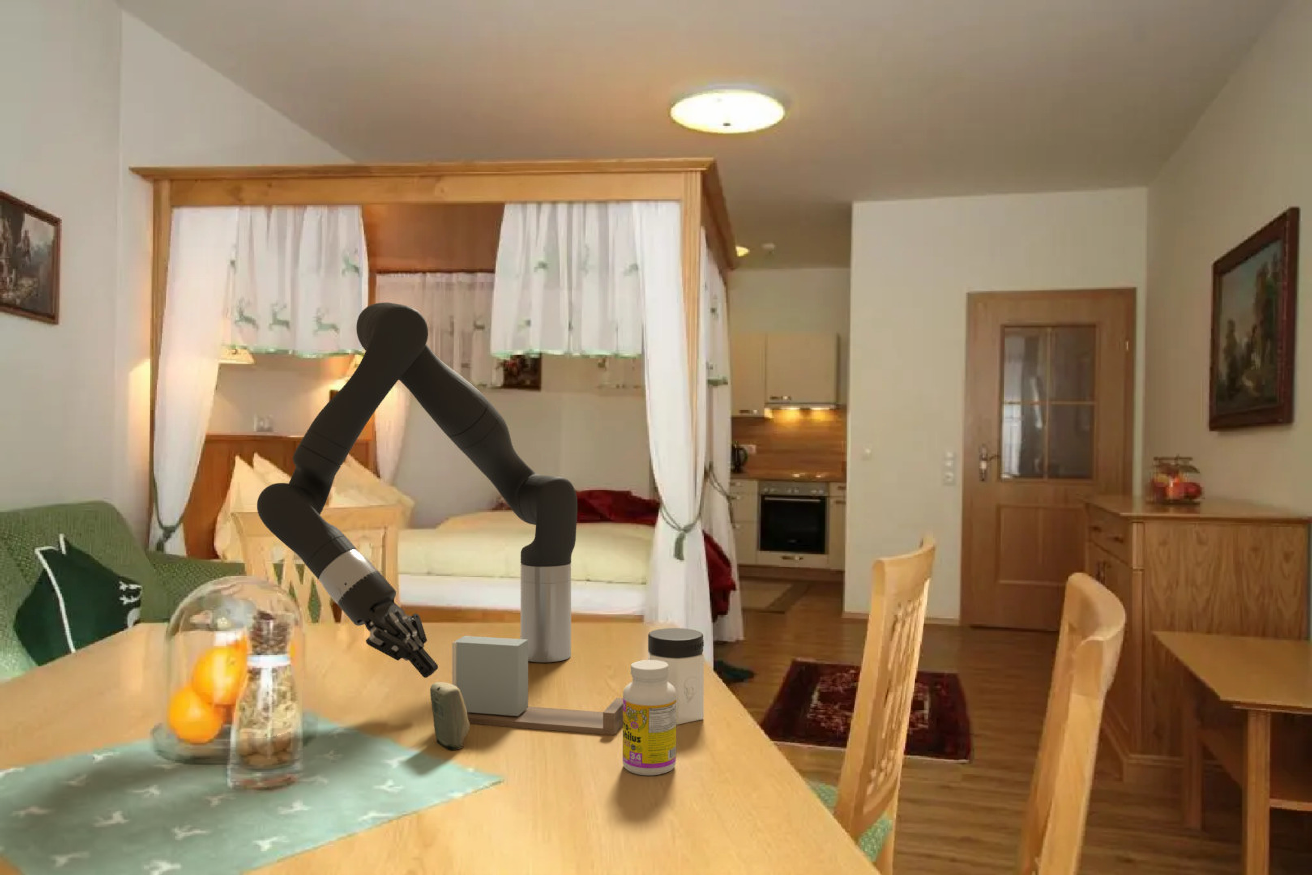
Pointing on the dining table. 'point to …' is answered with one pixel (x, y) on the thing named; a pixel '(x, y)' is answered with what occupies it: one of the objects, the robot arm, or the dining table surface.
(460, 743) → the beige rounded block
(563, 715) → the rail
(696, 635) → the jar
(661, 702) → the supplement bottle
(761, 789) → the dining table surface
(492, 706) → the grey square block
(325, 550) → the robot arm
